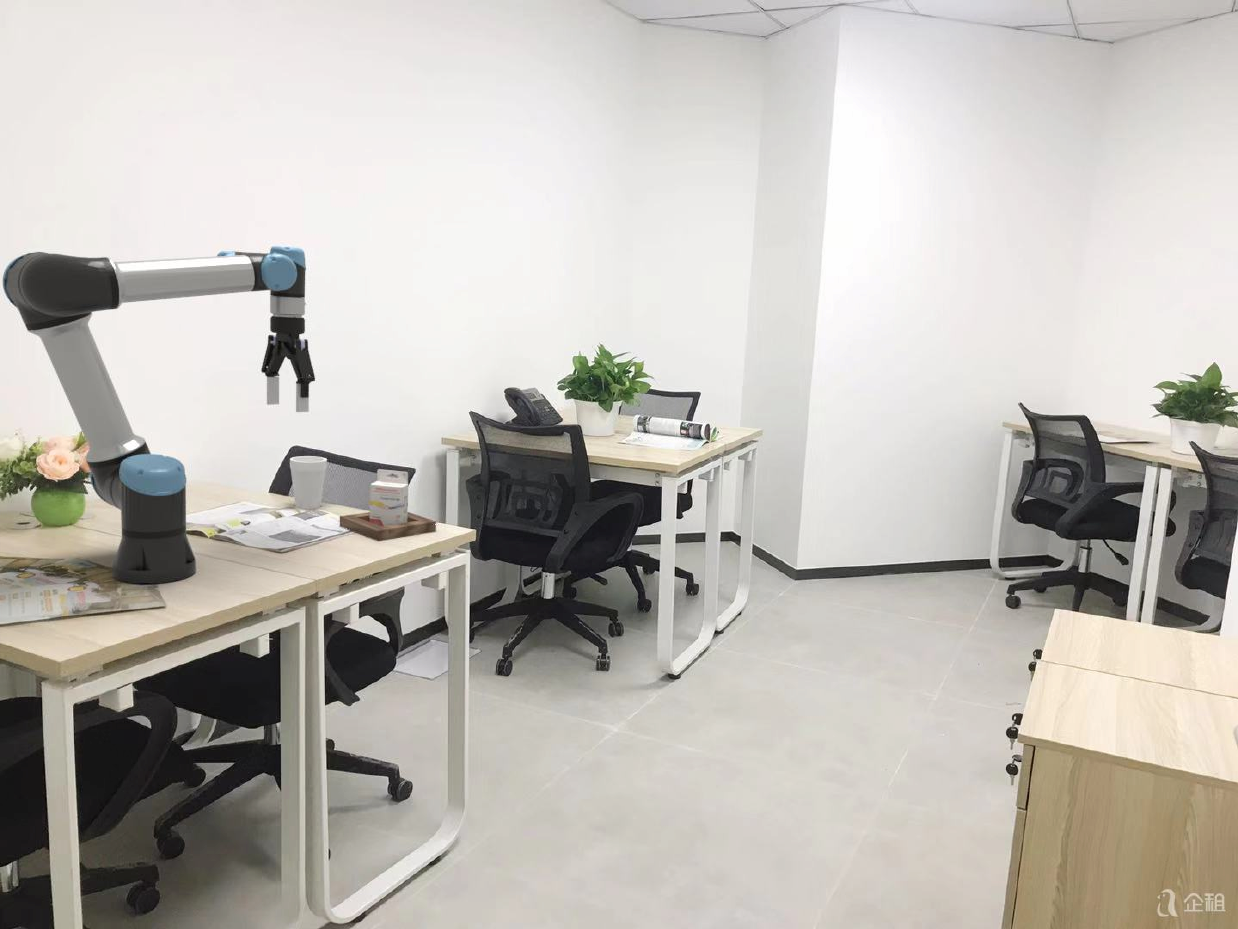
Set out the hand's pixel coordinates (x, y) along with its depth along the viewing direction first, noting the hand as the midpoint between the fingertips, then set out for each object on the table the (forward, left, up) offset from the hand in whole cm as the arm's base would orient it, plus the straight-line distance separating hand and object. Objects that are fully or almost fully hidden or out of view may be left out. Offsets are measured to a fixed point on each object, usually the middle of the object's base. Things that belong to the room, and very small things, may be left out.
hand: (287, 408), depth 218 cm
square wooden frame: (+24, -7, -31) cm, 39 cm away
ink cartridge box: (+23, -7, -31) cm, 39 cm away
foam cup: (+19, +24, -31) cm, 43 cm away
